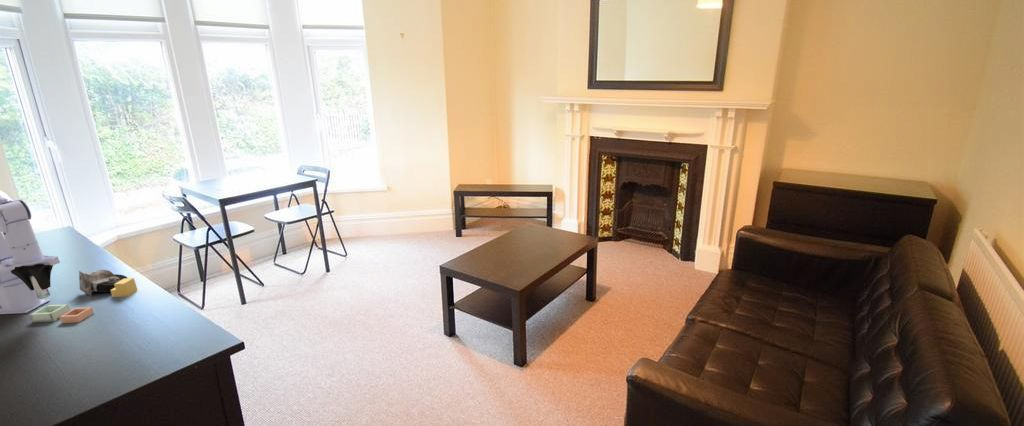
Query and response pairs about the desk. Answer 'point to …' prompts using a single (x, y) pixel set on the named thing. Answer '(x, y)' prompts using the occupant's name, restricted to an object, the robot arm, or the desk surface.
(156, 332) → the desk surface
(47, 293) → the stop pin
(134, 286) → the chock
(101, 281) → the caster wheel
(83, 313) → the socket block
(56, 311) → the tray
